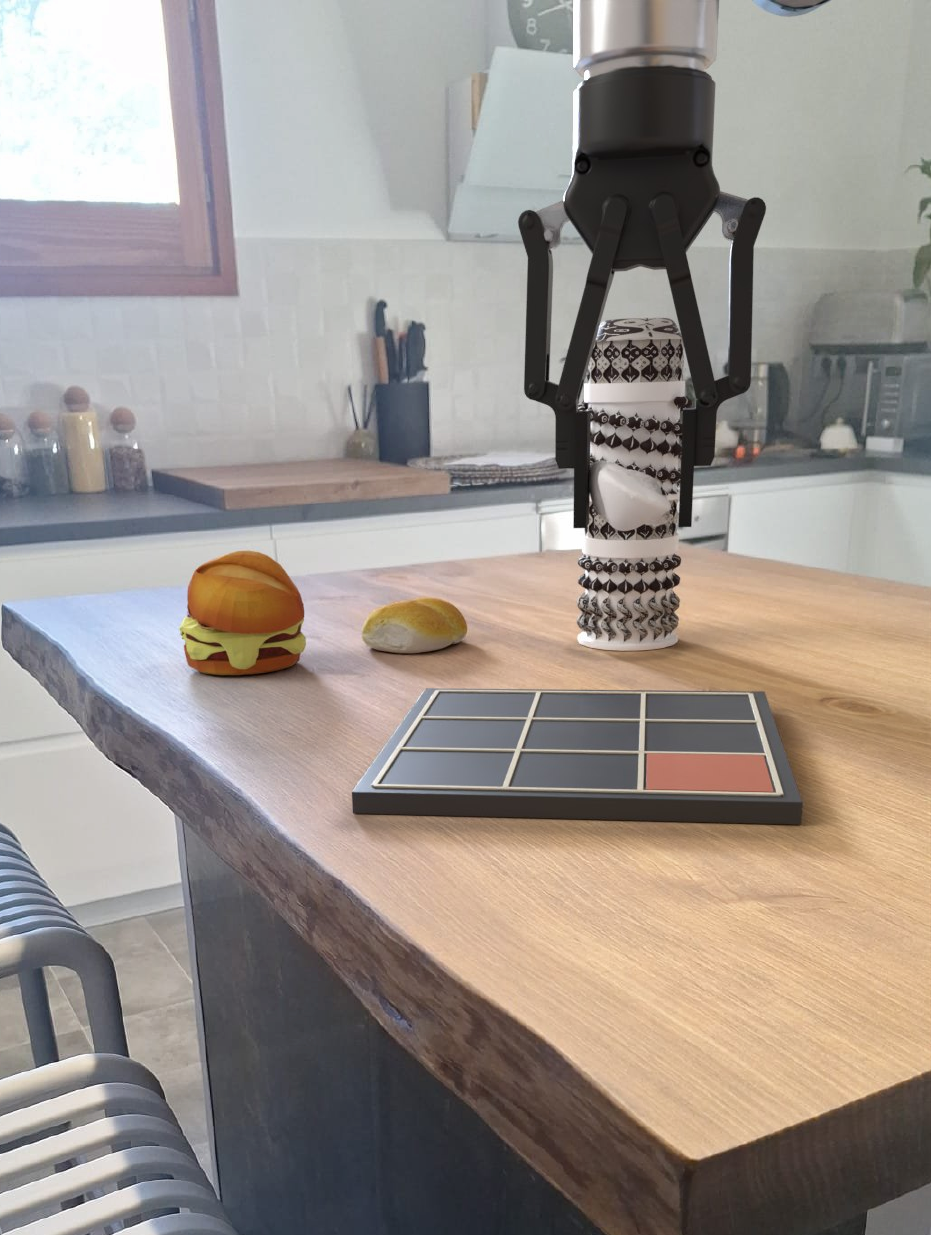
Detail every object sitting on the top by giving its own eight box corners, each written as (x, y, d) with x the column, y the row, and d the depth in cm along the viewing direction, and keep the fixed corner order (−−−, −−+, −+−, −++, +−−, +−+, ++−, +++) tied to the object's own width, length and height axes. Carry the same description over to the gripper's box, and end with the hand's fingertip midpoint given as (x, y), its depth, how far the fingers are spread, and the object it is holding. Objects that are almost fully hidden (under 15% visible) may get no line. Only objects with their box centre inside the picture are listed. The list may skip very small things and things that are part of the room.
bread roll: (480, 637, 108) (479, 591, 106) (431, 658, 101) (430, 608, 99) (398, 630, 112) (397, 586, 110) (346, 650, 104) (343, 602, 103)
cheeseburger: (283, 644, 106) (285, 532, 101) (327, 699, 99) (332, 580, 93) (167, 656, 102) (163, 539, 97) (203, 714, 95) (201, 591, 89)
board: (763, 708, 83) (764, 689, 82) (800, 825, 62) (803, 800, 61) (426, 704, 86) (425, 686, 86) (352, 813, 65) (351, 790, 65)
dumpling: (573, 529, 77) (584, 464, 77) (654, 543, 78) (666, 478, 77) (592, 520, 71) (605, 449, 70) (680, 536, 71) (694, 464, 70)
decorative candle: (631, 625, 111) (640, 322, 101) (705, 641, 103) (721, 316, 94) (551, 639, 106) (552, 322, 97) (622, 656, 99) (631, 316, 90)
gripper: (817, 78, 68) (786, 516, 76) (483, 103, 71) (490, 519, 79) (831, 46, 61) (796, 531, 69) (461, 74, 64) (471, 534, 73)
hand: (632, 524), depth 74 cm, fingers closed on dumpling, 5 cm apart
